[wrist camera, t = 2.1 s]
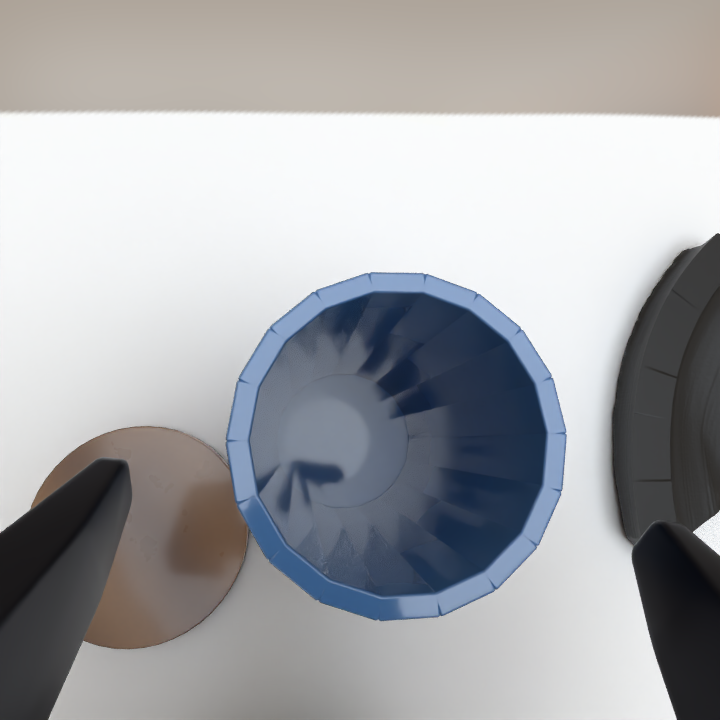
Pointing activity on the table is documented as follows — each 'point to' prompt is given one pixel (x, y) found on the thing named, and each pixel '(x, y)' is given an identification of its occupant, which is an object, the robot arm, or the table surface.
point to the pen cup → (396, 446)
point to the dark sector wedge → (672, 400)
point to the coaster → (163, 535)
